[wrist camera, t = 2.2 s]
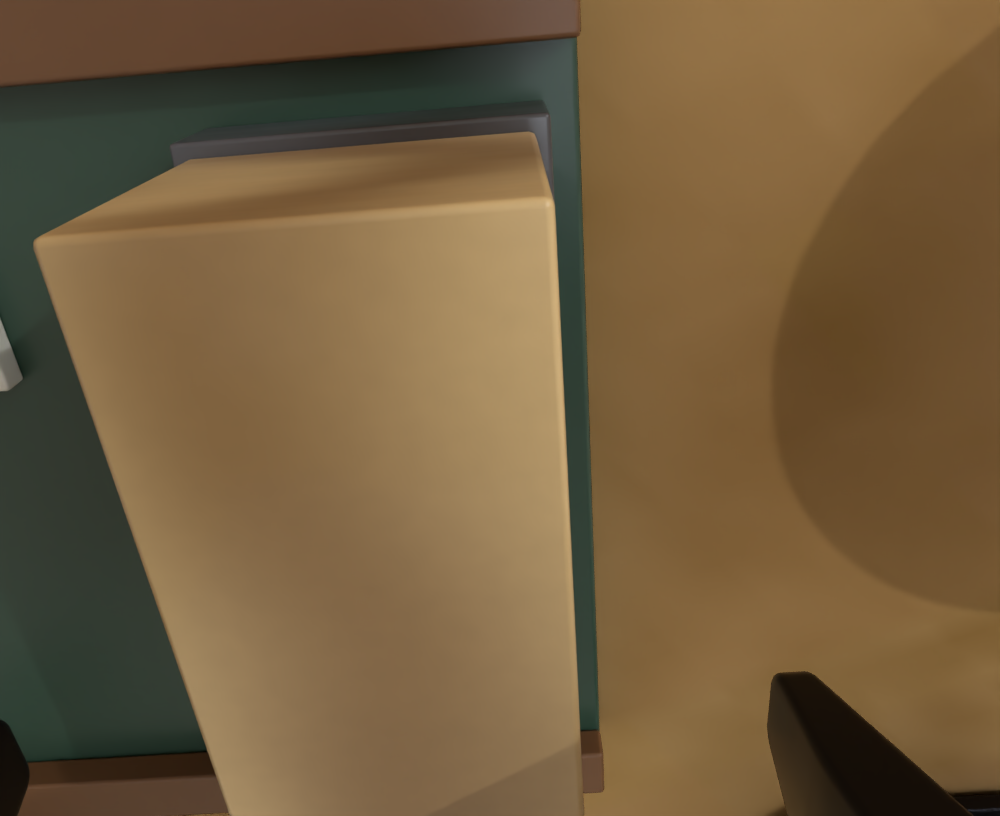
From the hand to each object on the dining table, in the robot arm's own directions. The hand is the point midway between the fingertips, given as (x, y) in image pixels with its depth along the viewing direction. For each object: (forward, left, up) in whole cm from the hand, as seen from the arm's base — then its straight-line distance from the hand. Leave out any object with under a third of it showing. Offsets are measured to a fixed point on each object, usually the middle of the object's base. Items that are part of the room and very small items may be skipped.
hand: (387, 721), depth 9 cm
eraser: (0, 0, -6) cm, 6 cm away
